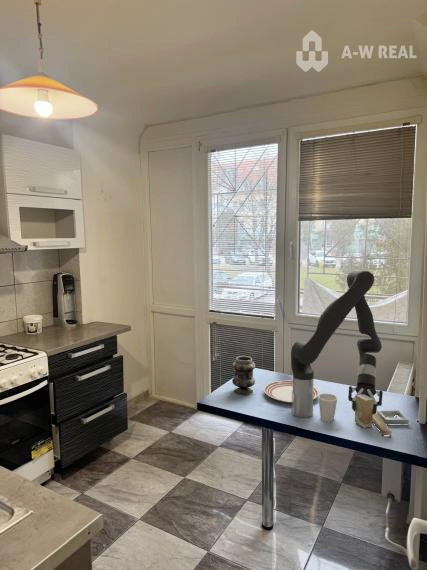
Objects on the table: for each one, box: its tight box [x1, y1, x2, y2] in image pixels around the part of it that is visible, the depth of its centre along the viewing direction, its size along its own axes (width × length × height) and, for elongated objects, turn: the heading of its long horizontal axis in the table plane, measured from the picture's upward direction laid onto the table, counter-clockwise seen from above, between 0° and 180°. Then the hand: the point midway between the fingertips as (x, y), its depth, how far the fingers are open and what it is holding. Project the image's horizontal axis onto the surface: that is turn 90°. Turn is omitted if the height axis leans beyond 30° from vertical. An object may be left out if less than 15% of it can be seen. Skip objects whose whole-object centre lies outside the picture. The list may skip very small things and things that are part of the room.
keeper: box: [376, 409, 410, 425], centre depth 172 cm, size 10×10×2 cm
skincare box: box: [354, 394, 374, 429], centre depth 167 cm, size 6×4×12 cm
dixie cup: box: [317, 392, 339, 422], centre depth 174 cm, size 8×8×10 cm
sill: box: [372, 413, 392, 436], centre depth 167 cm, size 3×20×2 cm, turn 178°
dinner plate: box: [263, 380, 320, 404], centre depth 200 cm, size 28×27×3 cm
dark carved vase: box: [231, 355, 256, 396], centre depth 205 cm, size 12×12×18 cm
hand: (363, 412), depth 166 cm, fingers closed on skincare box, 7 cm apart
